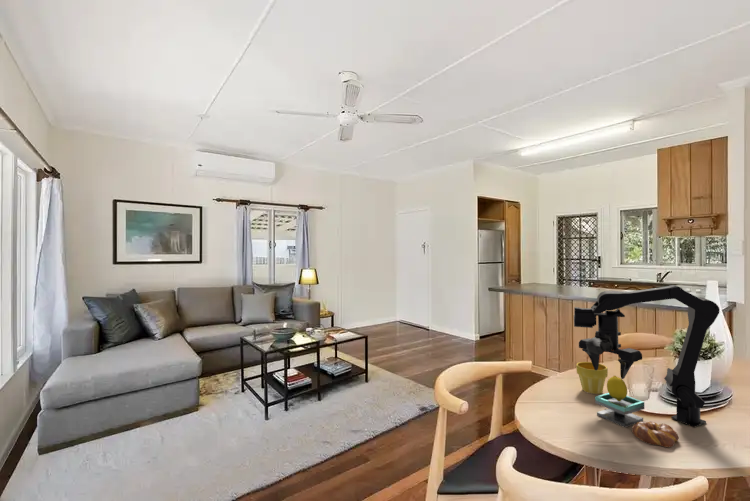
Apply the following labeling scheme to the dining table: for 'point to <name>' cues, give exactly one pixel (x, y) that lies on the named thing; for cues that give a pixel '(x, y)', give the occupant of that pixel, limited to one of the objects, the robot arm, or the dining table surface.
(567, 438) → the dining table surface
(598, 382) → the plant pot
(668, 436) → the pretzel
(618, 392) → the lemon
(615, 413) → the teal tray on stand
